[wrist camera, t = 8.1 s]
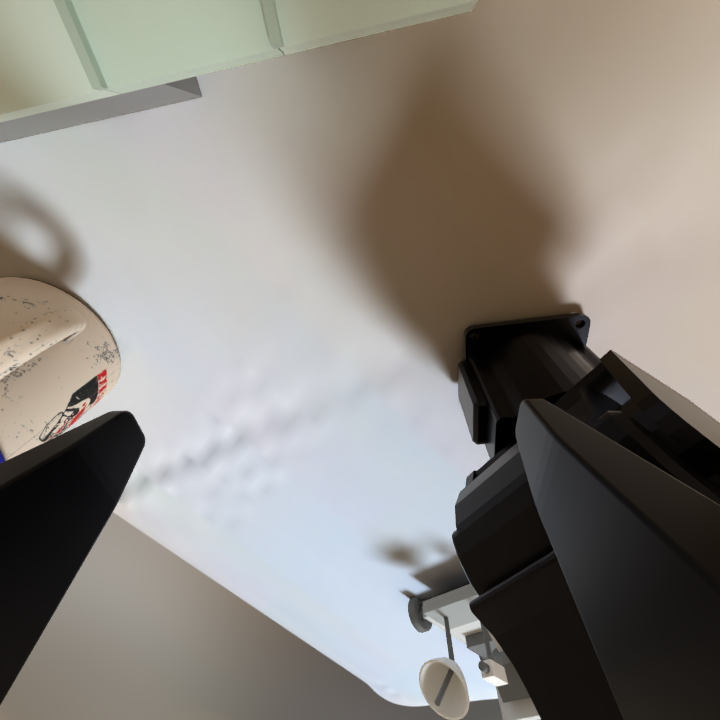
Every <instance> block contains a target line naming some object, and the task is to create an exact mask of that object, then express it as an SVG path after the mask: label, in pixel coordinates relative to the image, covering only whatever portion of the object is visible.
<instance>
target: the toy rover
mask: <svg viewBox="0 0 720 720" xmlns="http://www.w3.org/2000/svg"><path fill="white" fill-rule="evenodd" d="M476 597H478V595H477V593H476V592H475V590H474V589H473V587H472V586H471V584H468V585H466V586H463V587H460V588H458V589H455V590H452V591H450V592H447V593H444V594H442V595H439V596H436V597H434V598H431V599H428V600H426V601H422V600H421V599H420V598H418V597H413V598H411V599H410V600H409V603H408V612H409V617H410V620H411V622H412V624H413V626H414V628H415V629H416V630H417V631H418V632H421V633H423V632H426V631H429V630H430V629H431V627H432V624H434V625H436V626H437V627H439V628H441V629H442V630H444V631H446V637H447V645H448V652H449V658H435V659H432V660H429V661H427V662H425V663H424V665H423V666H422V667H421V670H420V674H419V682H420V687H421V690H422V693H423V695H424V697H425V699H426V701H427V703H428V704H429V705H430V706H431V708H432V709H433V710H434V711H436V713H438V714H439V715H440V716H442V717H444V718H446V719H449V720H459V719H461V718H463V717H464V716H465V715H466V714H467V711H468V709H469V695H468V690H467V685H466V681H465V678H464V675H463V673H462V671H461V669H460V667H459V666H458V665H457V663H456V662H455V661H454V654H453V647H452V640H451V635H452V636H454V637H455V638H457V639H459V640H460V641H462V642H464V643H465V644H467V648H468V649H470V650H471V651H473V652H475V653H476V654H478V655H479V657H480V660H481V661H480V662H479V669H480V670H481V673H482V678H483V679H484V680H486V681H488V682H490V683H492V684H493V685H495V686H496V689H497V694H498V698H499V703H500V708H501V712H502V717H503V720H538V719H541V718H540V716H539V714H538V712H537V710H536V708H535V706H534V704H533V702H532V700H531V698H530V696H529V694H528V692H527V690H526V688H525V686H524V684H523V682H522V680H521V679H520V677H519V675H518V673H517V671H516V669H515V667H514V666H513V664H512V663H511V661H510V660H509V658H508V657H507V655H506V654H505V652H504V651H503V649H502V648H501V646H500V645H499V644H498V642H497V641H496V639H495V638H494V636H493V635H492V634H491V633H490V632H489V631H488V630H487V629H486V628H485V626H484V625H483V624H482V623H481V622H480V621H479V620H478V619H477V618H476V616H475V615H474V614H473V613H472V612H471V610H470V606H469V603H470V601H471V600H473V599H475V598H476Z"/></svg>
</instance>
